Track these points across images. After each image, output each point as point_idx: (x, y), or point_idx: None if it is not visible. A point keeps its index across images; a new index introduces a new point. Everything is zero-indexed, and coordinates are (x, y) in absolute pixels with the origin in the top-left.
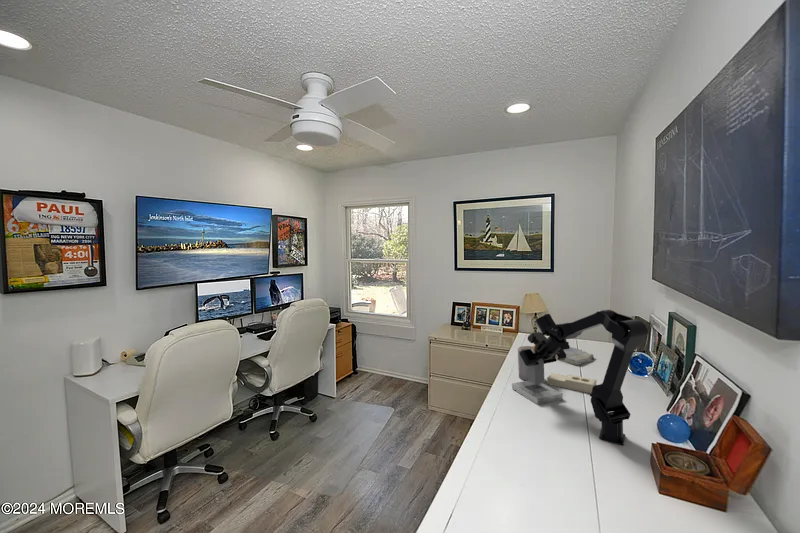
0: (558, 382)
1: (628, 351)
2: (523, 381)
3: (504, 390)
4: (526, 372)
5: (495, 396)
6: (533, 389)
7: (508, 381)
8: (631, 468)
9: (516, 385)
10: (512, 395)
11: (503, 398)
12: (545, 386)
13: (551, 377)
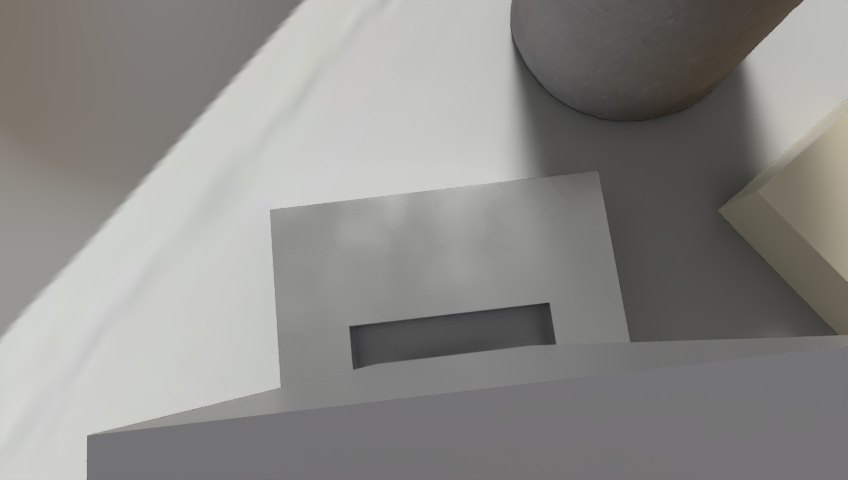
0: (838, 296)
1: None
2: (430, 192)
3: (192, 239)
4: (562, 36)
5: (25, 347)
6: (466, 347)
7: (355, 49)
8: None
9: (287, 276)
10: (199, 374)
11: (72, 415)
12: None
13: (817, 196)
